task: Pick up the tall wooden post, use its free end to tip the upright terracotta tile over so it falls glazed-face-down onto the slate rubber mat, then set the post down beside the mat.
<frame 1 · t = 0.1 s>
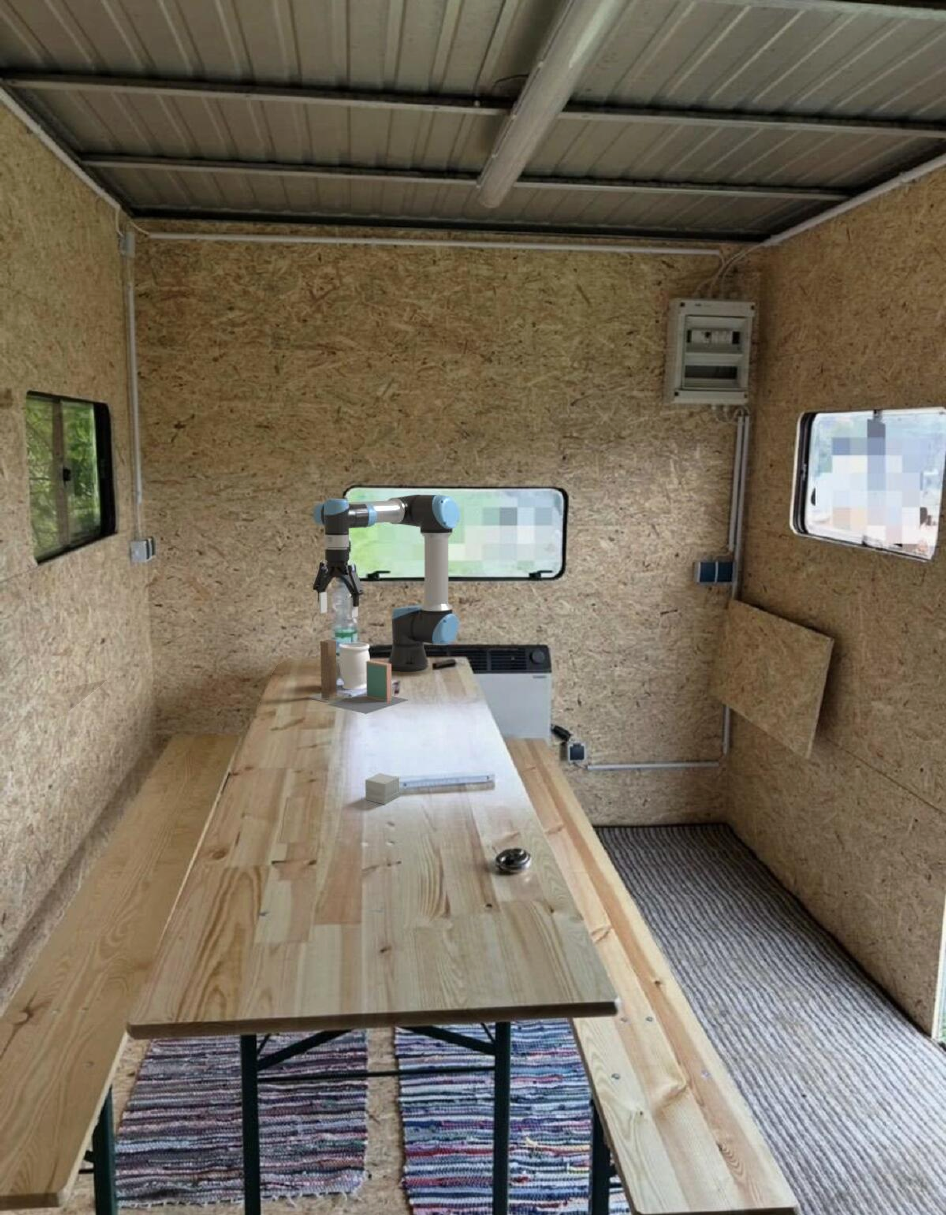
hand: (338, 614, 276), 28 cm above the table, fingers open, 13 cm apart
terracotta tile: (379, 698, 280), resting on slate rubber mat
jar: (354, 688, 296), on the table
slate rubber mat: (368, 703, 276), on the table
tall wooden post: (329, 698, 282), on the table
small box: (382, 799, 197), on the table
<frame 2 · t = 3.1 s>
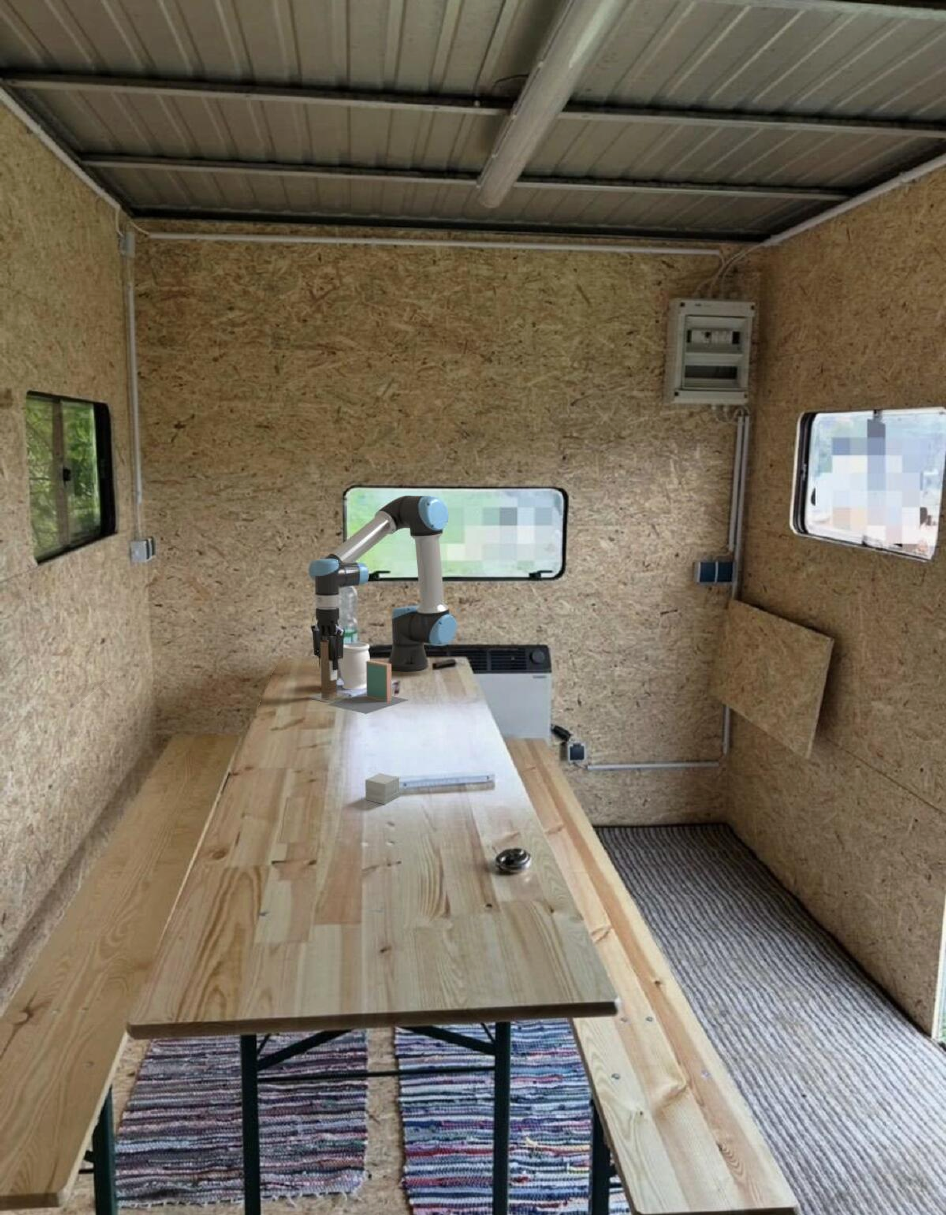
hand: (328, 678, 281), 7 cm above the table, fingers closed on tall wooden post, 3 cm apart
tall wooden post: (329, 698, 282), on the table, touching gripper
everything else where it was.
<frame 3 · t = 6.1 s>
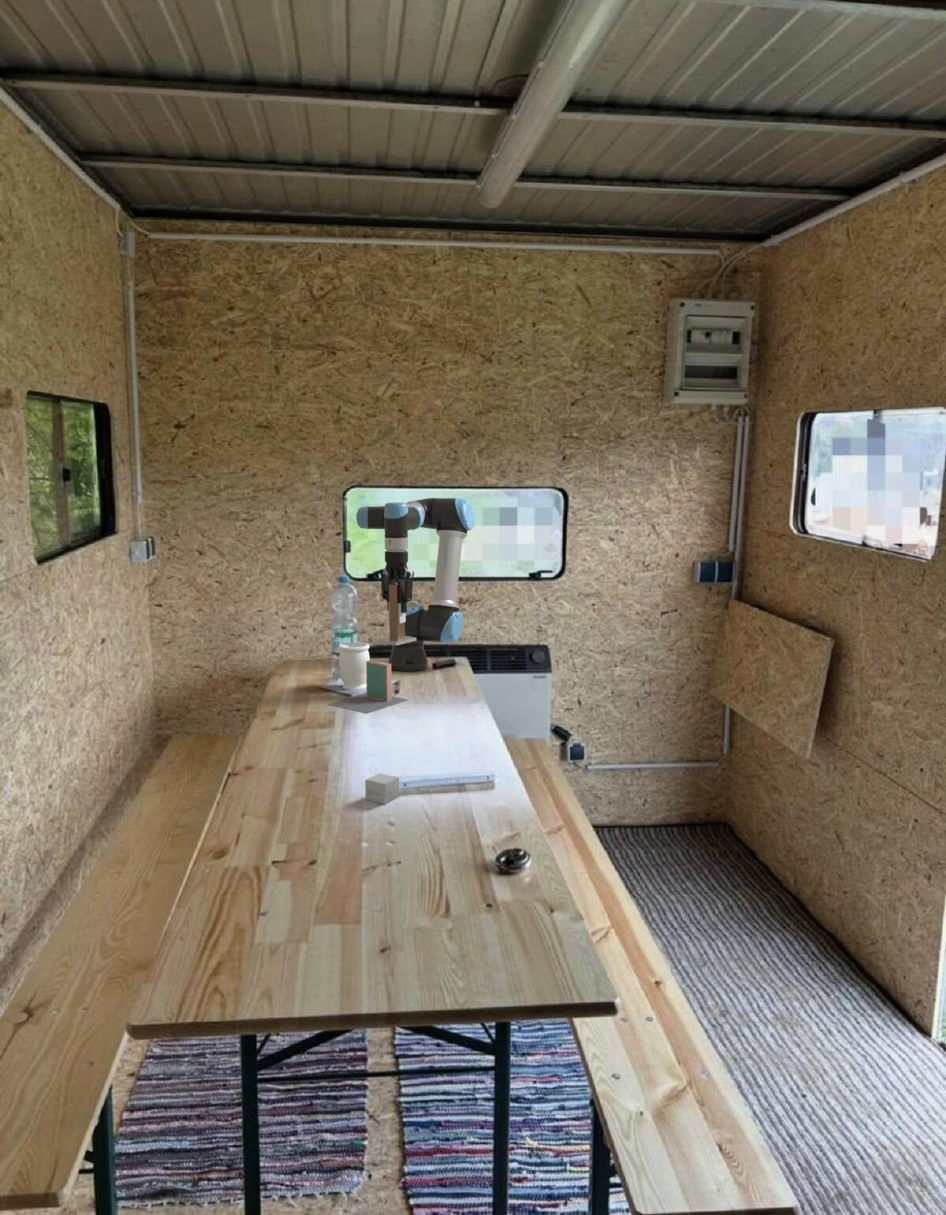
hand: (397, 621, 284), 24 cm above the table, fingers closed on tall wooden post, 3 cm apart
tall wooden post: (397, 641, 285), point 18 cm above the table, touching gripper
everything else where it was.
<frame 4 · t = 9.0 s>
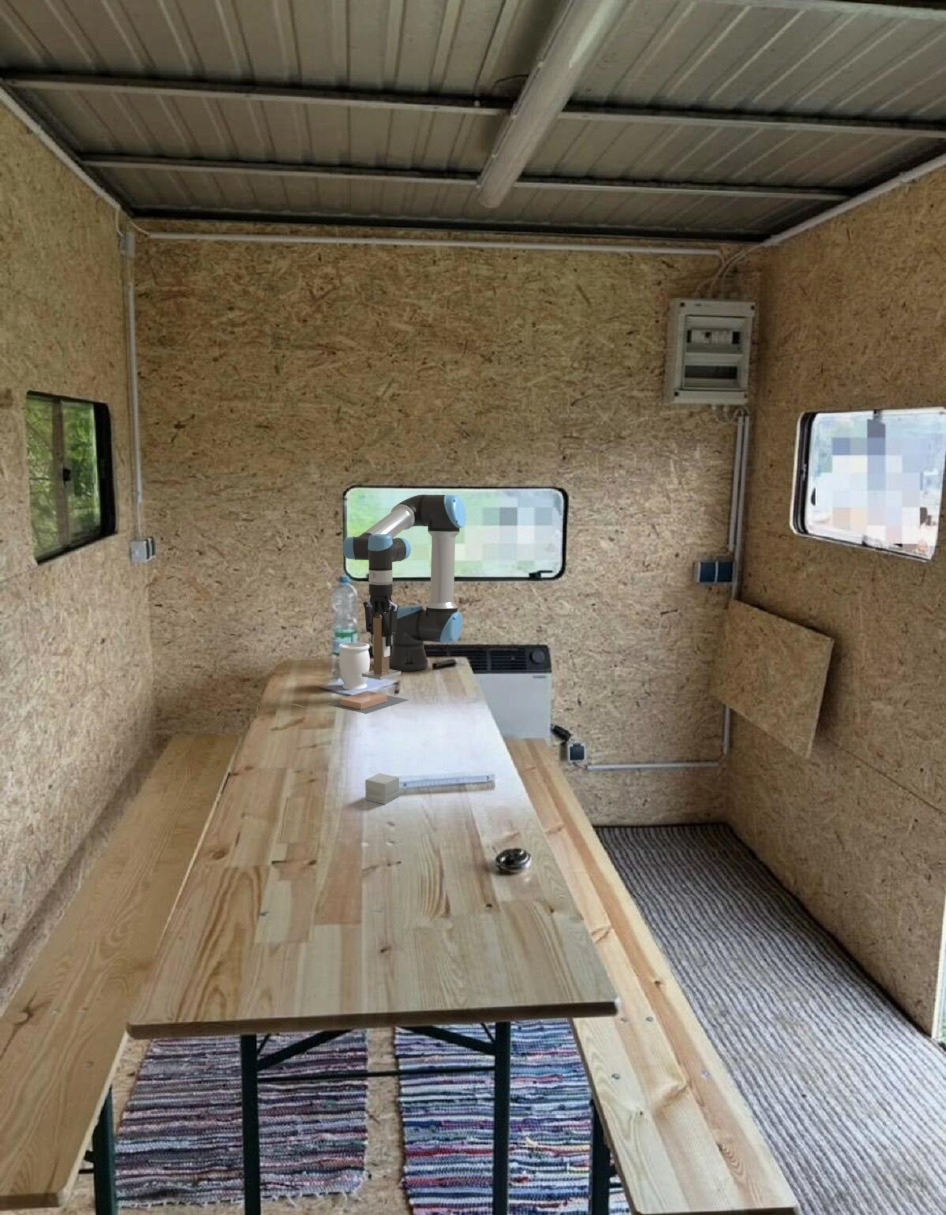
hand: (381, 655, 279), 15 cm above the table, fingers closed on tall wooden post, 3 cm apart
terracotta tile: (376, 696, 279), point 2 cm above the table, tilted 90°, touching slate rubber mat
tall wooden post: (381, 675, 280), point 8 cm above the table, touching gripper
everything else where it was.
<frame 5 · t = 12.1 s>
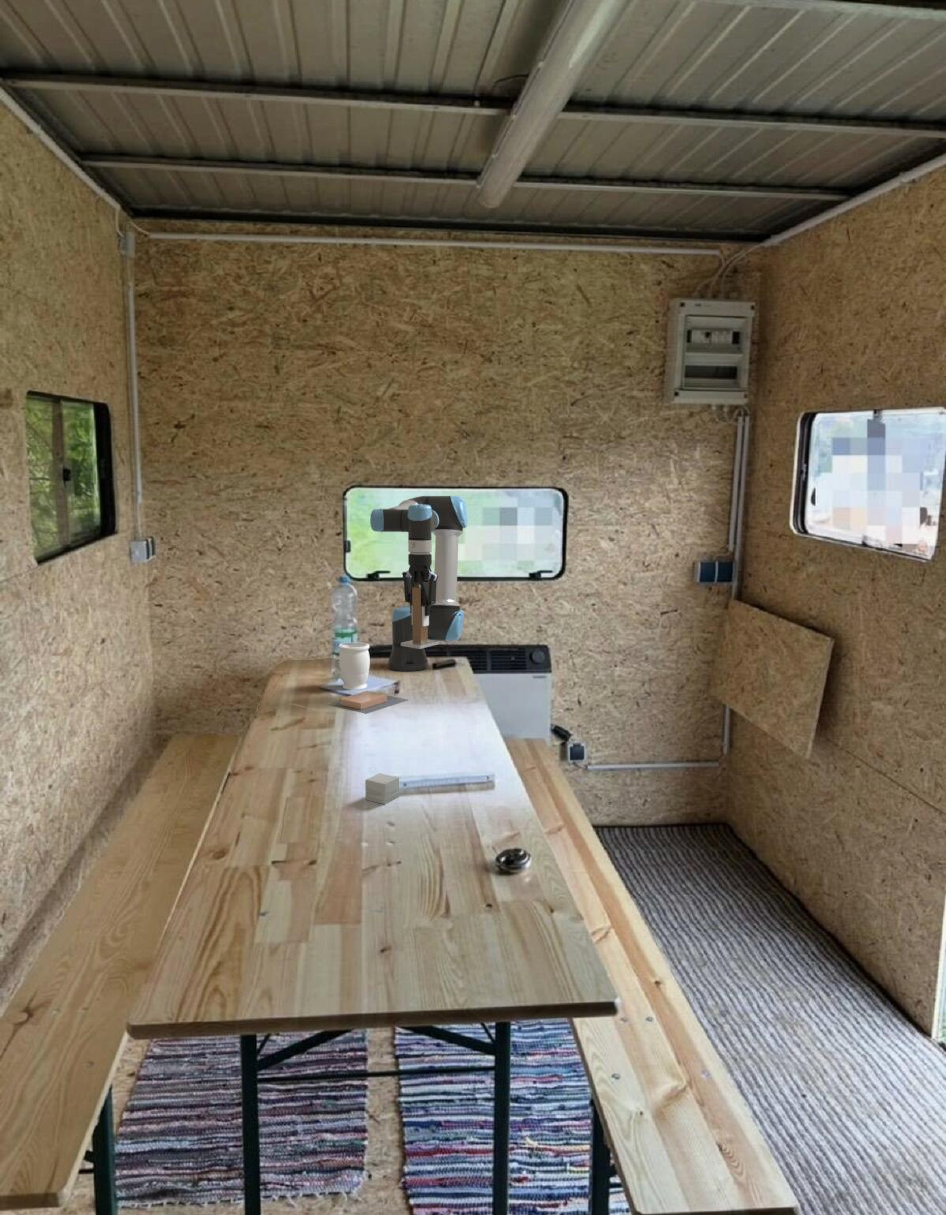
hand: (420, 624, 281), 24 cm above the table, fingers closed on tall wooden post, 3 cm apart
tall wooden post: (420, 644, 282), point 17 cm above the table, touching gripper
everything else where it was.
when the fingers open (8 cm above the table, at t = 15.1 s): tall wooden post drops 1 cm, on the table.
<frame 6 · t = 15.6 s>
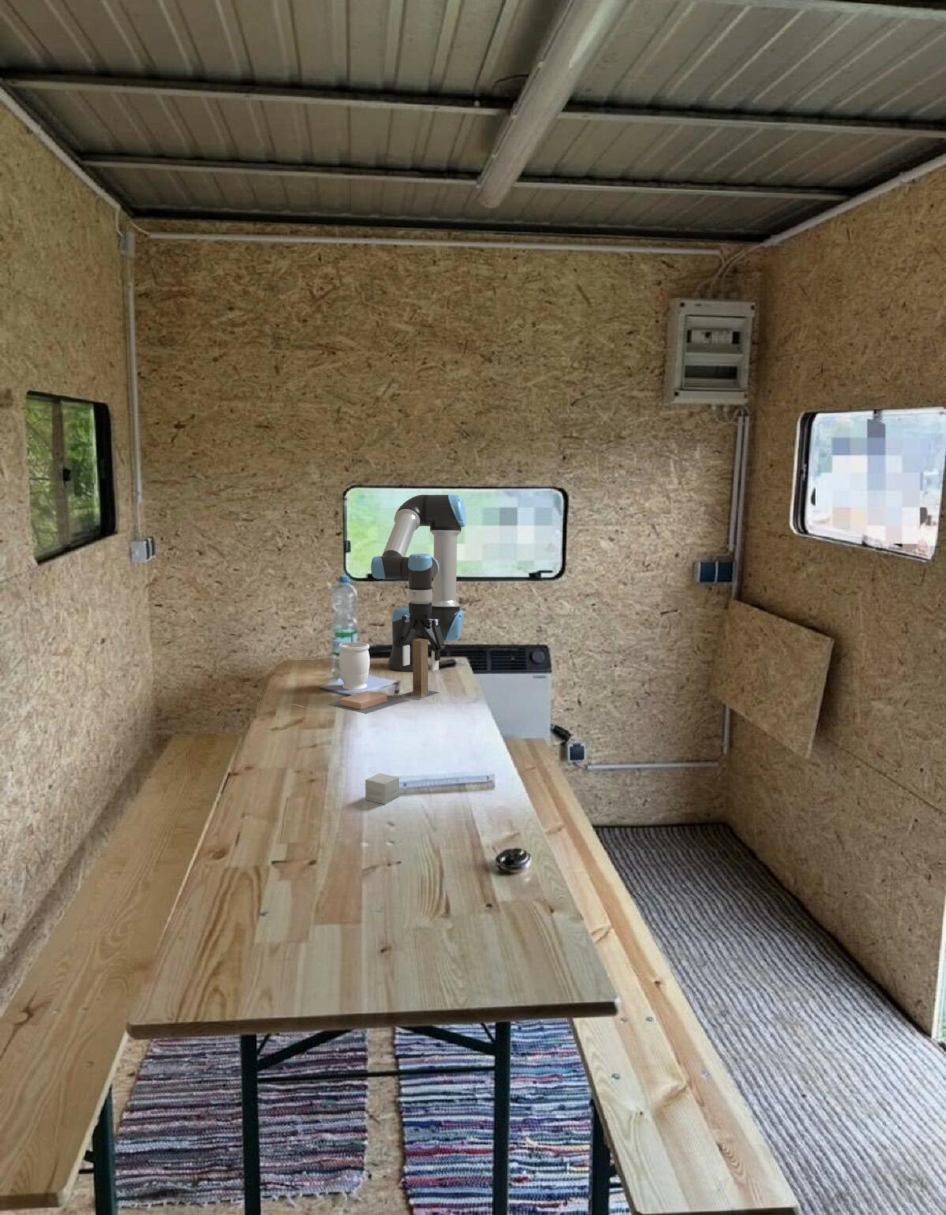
hand: (420, 667, 284), 10 cm above the table, fingers open, 11 cm apart
tall wooden post: (420, 696, 285), on the table
everything else where it was.
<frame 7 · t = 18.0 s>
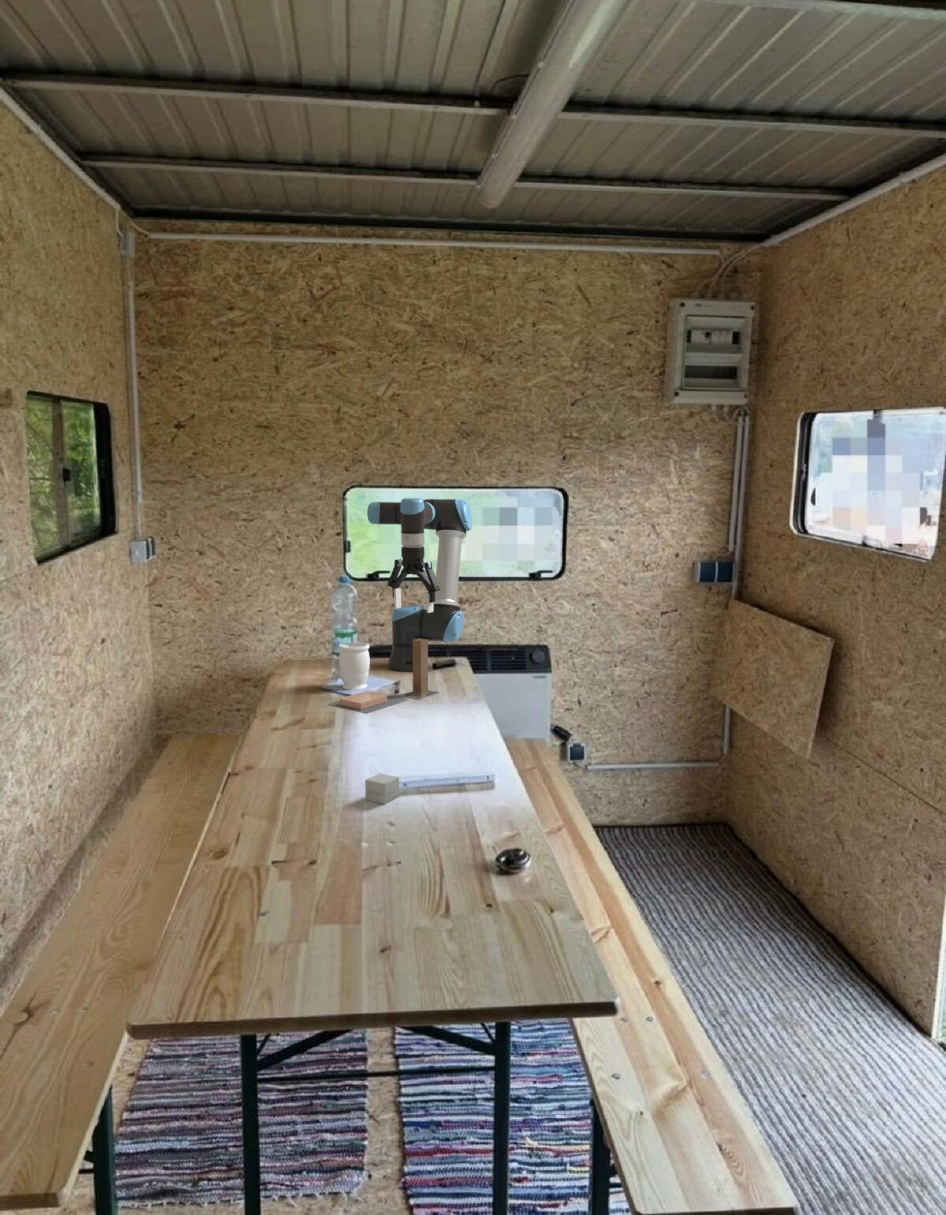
hand: (413, 610, 286), 28 cm above the table, fingers open, 13 cm apart
nothing on the table moved.
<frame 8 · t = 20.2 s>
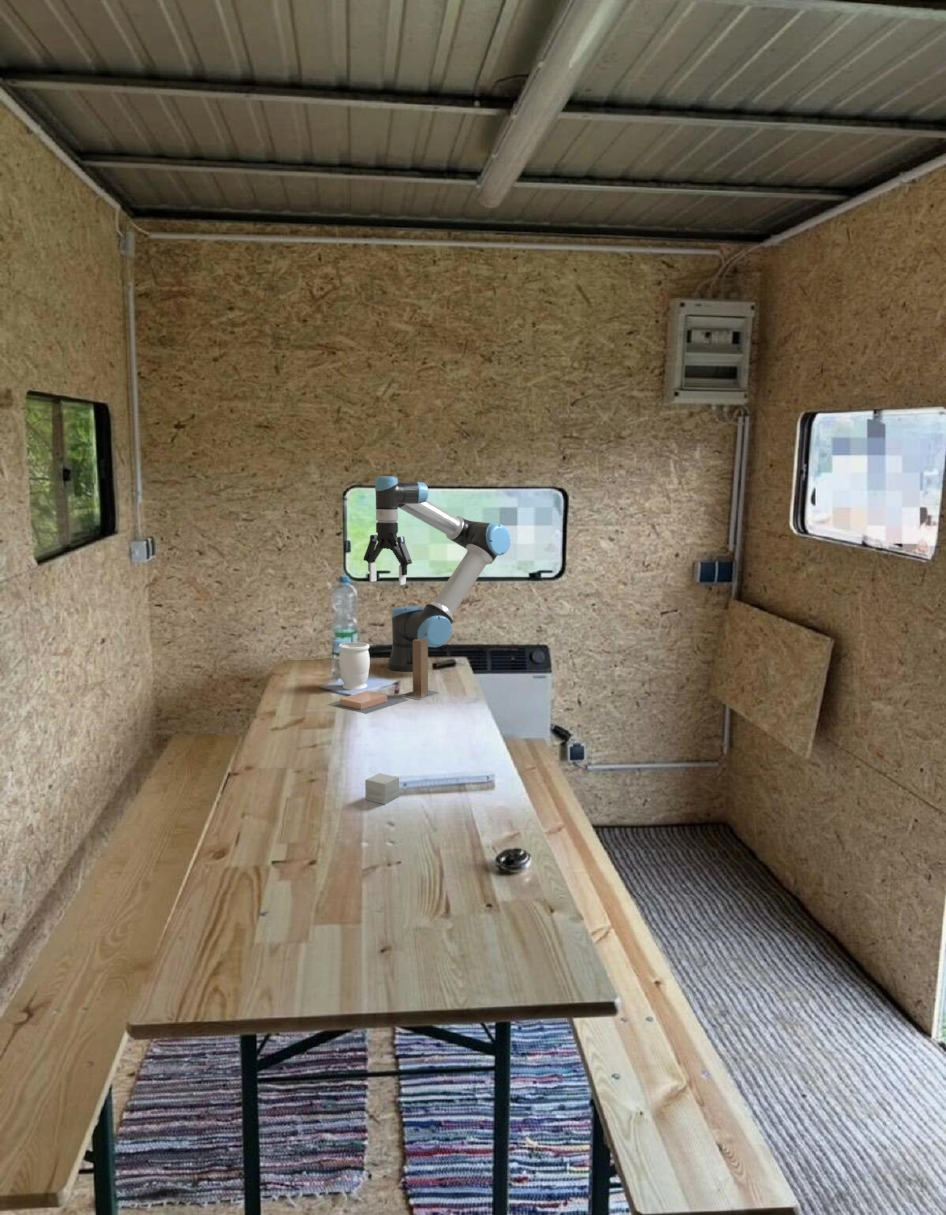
hand: (387, 583, 301), 35 cm above the table, fingers open, 13 cm apart
nothing on the table moved.
at the end: terracotta tile tilted 90°; terracotta tile inside the target area (0.8 cm from its centre), point 1.6 cm above the table; tall wooden post inside the target area (0.1 cm from its centre), on the table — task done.
